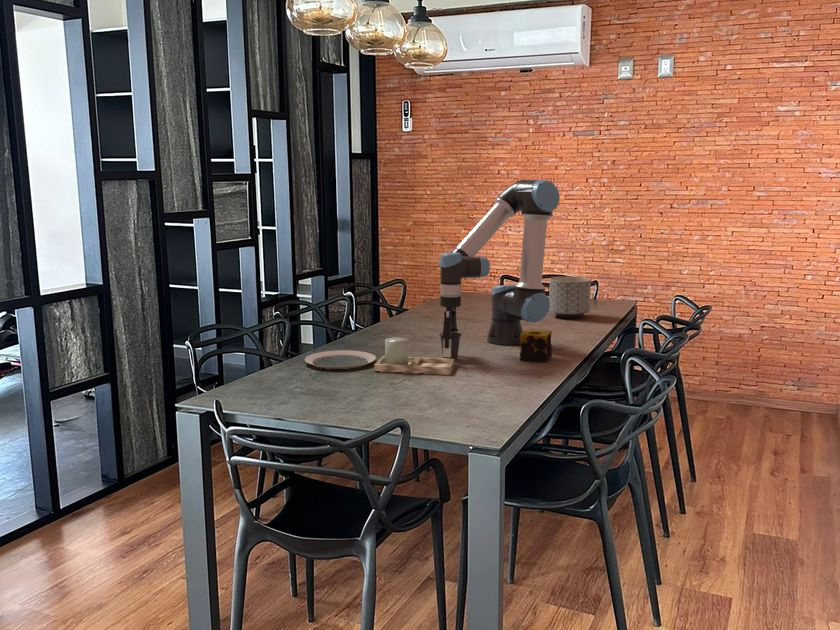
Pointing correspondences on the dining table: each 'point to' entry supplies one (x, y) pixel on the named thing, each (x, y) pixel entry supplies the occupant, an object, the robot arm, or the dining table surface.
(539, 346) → the yellow die
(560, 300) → the planter
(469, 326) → the dining table surface
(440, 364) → the birch caddy
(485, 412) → the dining table surface
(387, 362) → the pale grey-green cylinder
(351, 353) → the plate
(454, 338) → the coffee cup
